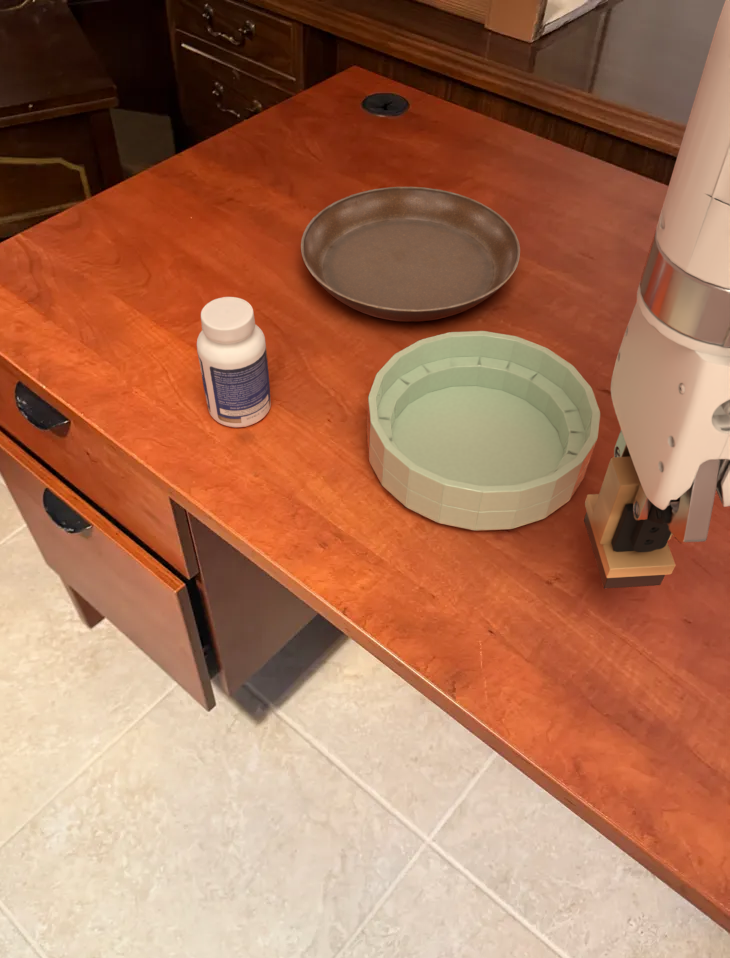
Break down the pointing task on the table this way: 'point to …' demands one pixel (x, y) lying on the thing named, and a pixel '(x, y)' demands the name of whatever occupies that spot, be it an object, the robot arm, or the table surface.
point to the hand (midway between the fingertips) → (631, 526)
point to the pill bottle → (233, 363)
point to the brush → (602, 527)
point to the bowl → (480, 429)
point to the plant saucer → (410, 252)
